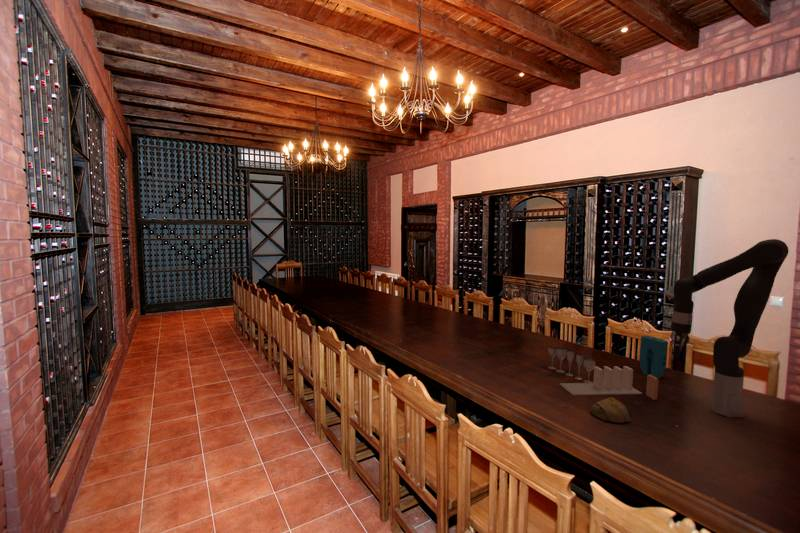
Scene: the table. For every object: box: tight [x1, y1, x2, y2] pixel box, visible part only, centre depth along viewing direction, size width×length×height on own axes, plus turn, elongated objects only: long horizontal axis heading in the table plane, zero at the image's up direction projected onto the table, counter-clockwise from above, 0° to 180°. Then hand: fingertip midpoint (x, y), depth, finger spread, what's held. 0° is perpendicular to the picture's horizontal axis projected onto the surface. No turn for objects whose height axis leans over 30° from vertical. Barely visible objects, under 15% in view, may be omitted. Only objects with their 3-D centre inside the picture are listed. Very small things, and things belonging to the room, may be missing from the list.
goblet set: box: [547, 346, 597, 383], centre depth 202 cm, size 28×6×13 cm, turn 28°
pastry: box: [590, 396, 631, 424], centre depth 156 cm, size 14×12×8 cm
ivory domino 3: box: [612, 365, 623, 390], centre depth 184 cm, size 5×2×10 cm, turn 4°
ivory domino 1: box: [592, 366, 604, 390], centre depth 183 cm, size 5×2×10 cm, turn 4°
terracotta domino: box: [645, 374, 660, 401], centre depth 175 cm, size 5×2×10 cm, turn 4°
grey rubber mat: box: [559, 382, 643, 397], centre depth 184 cm, size 13×34×1 cm, turn 94°
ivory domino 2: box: [603, 365, 614, 390], centre depth 184 cm, size 5×2×10 cm, turn 4°
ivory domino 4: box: [622, 365, 634, 390], centre depth 184 cm, size 5×2×10 cm, turn 4°
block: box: [639, 335, 669, 379], centre depth 202 cm, size 12×5×20 cm, turn 21°
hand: (677, 355), depth 173 cm, fingers open, 8 cm apart
